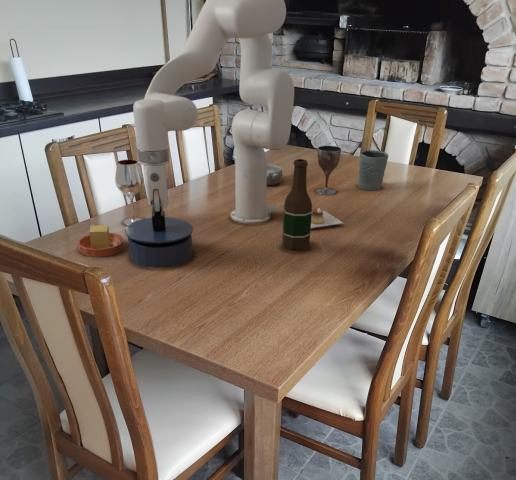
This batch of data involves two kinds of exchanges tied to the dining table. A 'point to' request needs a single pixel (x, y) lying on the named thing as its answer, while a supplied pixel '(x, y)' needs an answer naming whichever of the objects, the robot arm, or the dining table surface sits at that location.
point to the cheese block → (99, 237)
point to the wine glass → (328, 164)
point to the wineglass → (129, 182)
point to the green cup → (372, 169)
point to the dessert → (323, 219)
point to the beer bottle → (297, 211)
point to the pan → (160, 253)
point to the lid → (173, 232)
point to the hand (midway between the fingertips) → (159, 227)
